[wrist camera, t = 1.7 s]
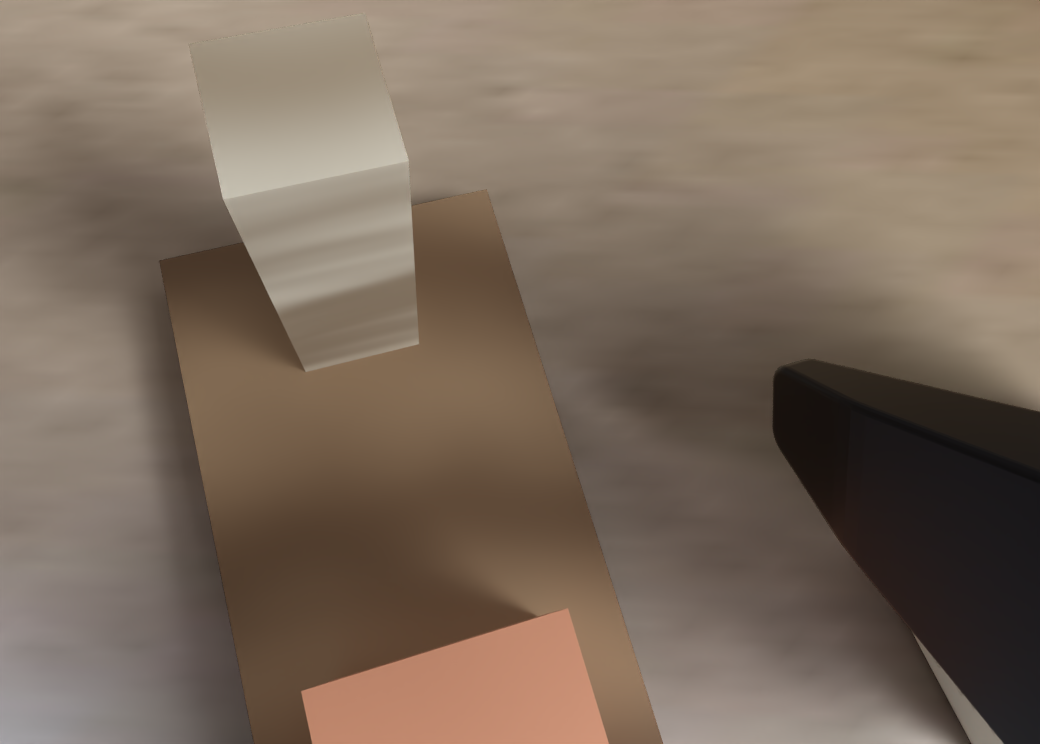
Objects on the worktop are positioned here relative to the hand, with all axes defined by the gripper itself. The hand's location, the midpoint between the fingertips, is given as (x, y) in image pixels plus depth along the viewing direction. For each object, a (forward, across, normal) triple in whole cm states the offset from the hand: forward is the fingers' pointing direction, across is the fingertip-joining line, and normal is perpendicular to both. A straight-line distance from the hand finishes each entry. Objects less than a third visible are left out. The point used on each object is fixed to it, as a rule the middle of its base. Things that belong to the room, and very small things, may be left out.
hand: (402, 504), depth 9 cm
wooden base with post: (+10, 0, +9) cm, 13 cm away
